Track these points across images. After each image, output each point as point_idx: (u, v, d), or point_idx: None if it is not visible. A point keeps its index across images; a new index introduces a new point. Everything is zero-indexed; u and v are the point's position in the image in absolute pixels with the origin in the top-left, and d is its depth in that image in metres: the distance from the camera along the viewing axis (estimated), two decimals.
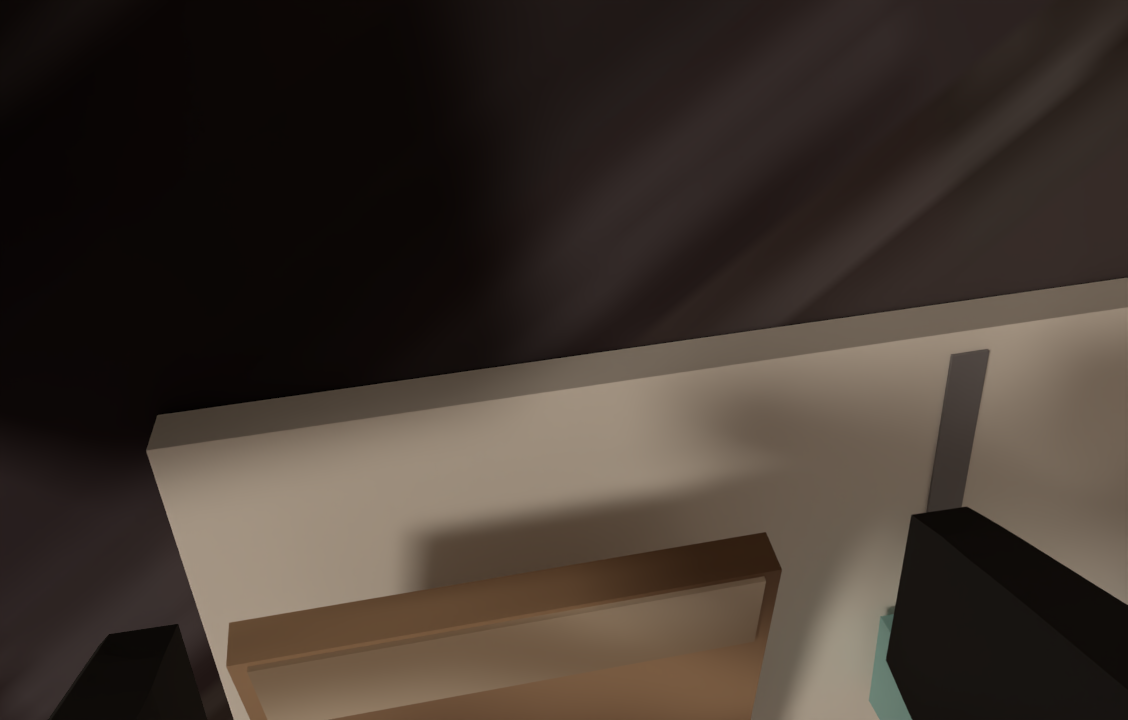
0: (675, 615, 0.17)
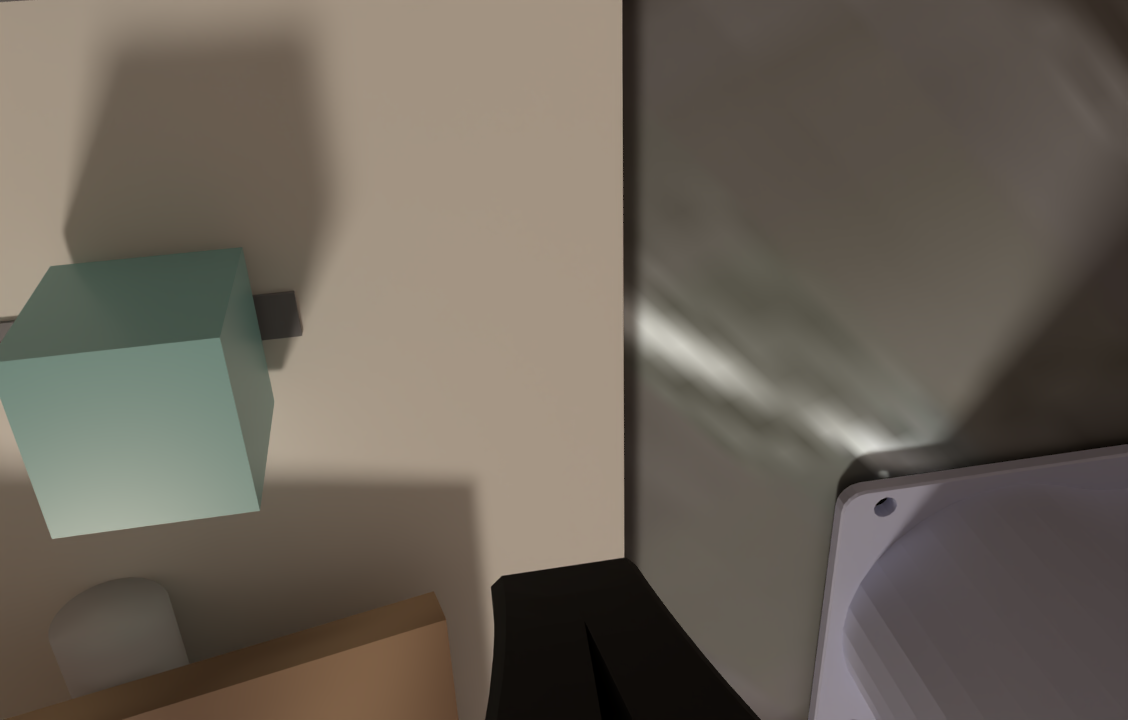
0: None
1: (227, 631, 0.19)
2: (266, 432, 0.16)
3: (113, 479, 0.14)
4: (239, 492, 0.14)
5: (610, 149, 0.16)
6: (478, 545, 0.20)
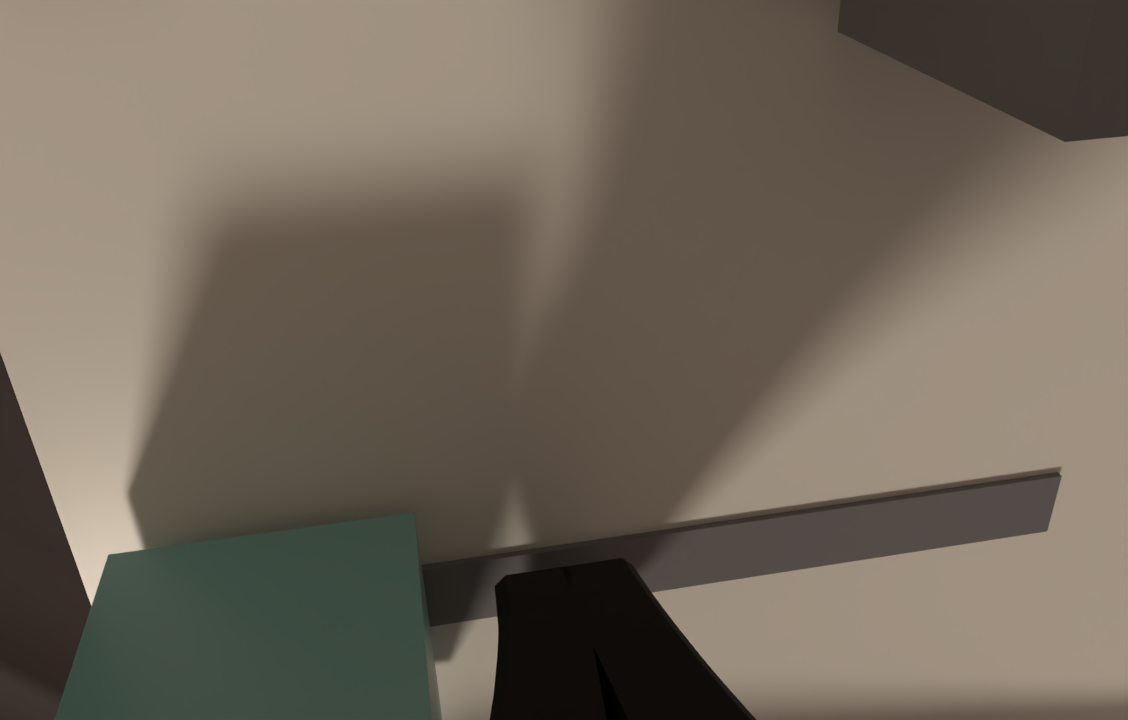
0: None
1: None
2: None
3: None
4: None
5: None
6: None
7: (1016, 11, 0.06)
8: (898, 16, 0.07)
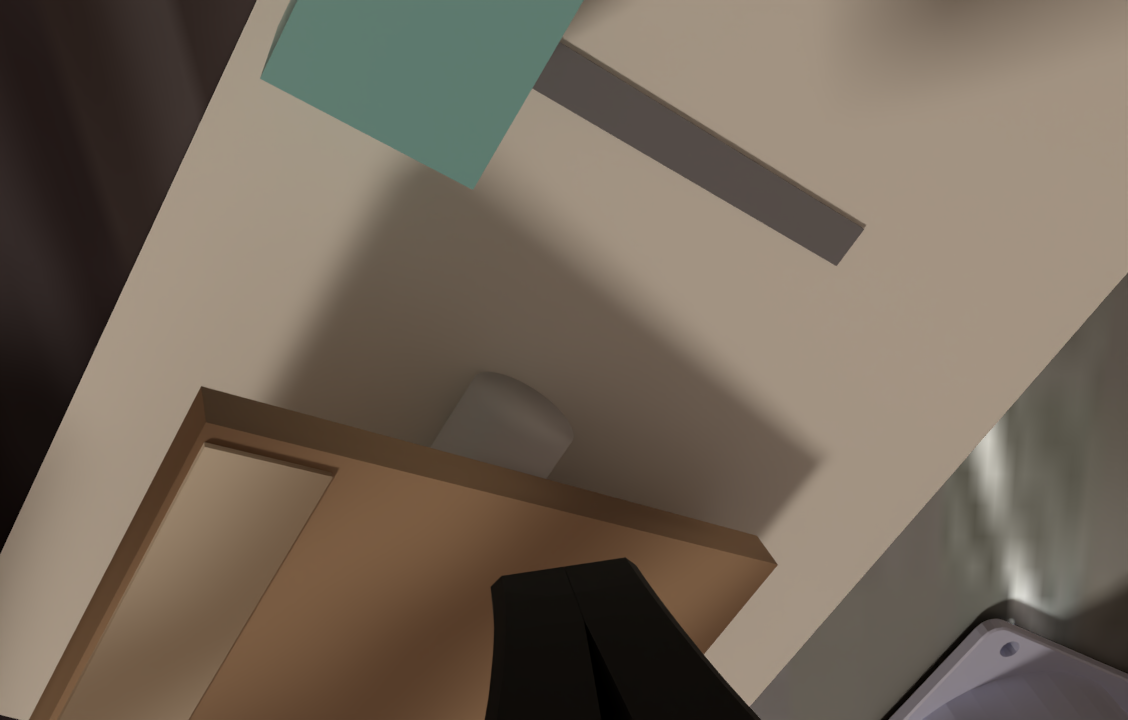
0: (198, 540, 0.14)
1: None
2: None
3: (374, 58, 0.12)
4: (472, 156, 0.12)
5: (1121, 267, 0.19)
6: (776, 516, 0.21)
7: None
8: None
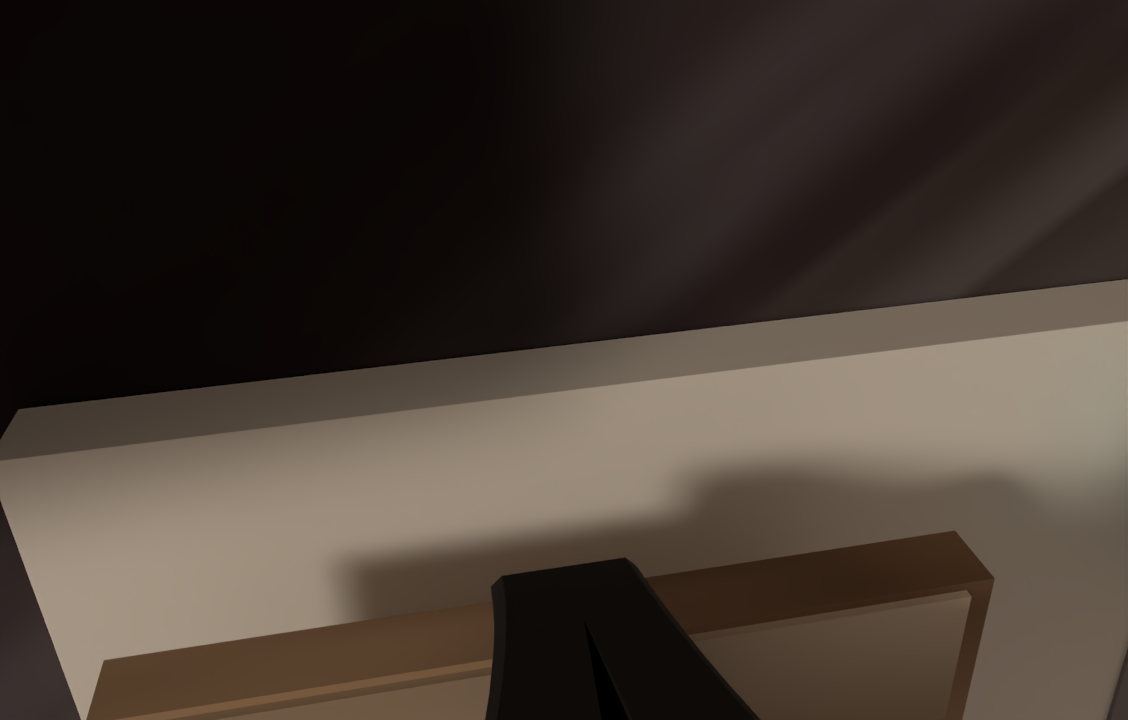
0: (827, 657, 0.10)
1: None
2: None
3: None
4: None
5: None
6: None
7: None
8: None
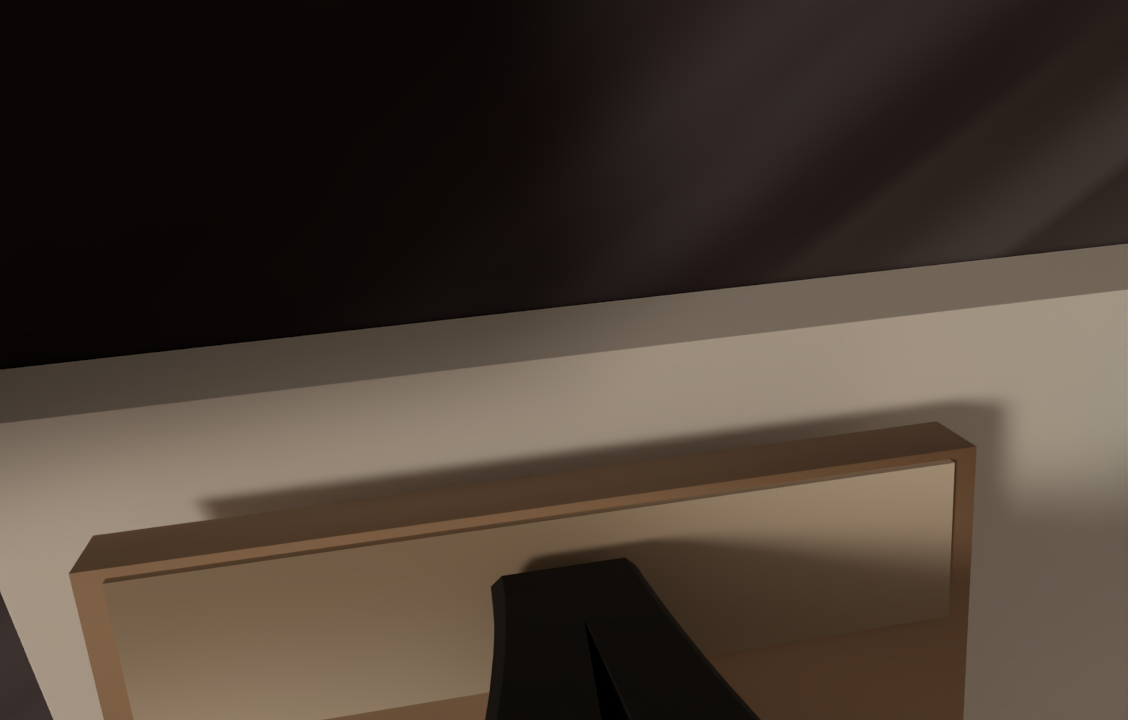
0: (815, 530, 0.10)
1: None
2: None
3: None
4: None
5: None
6: None
7: None
8: None
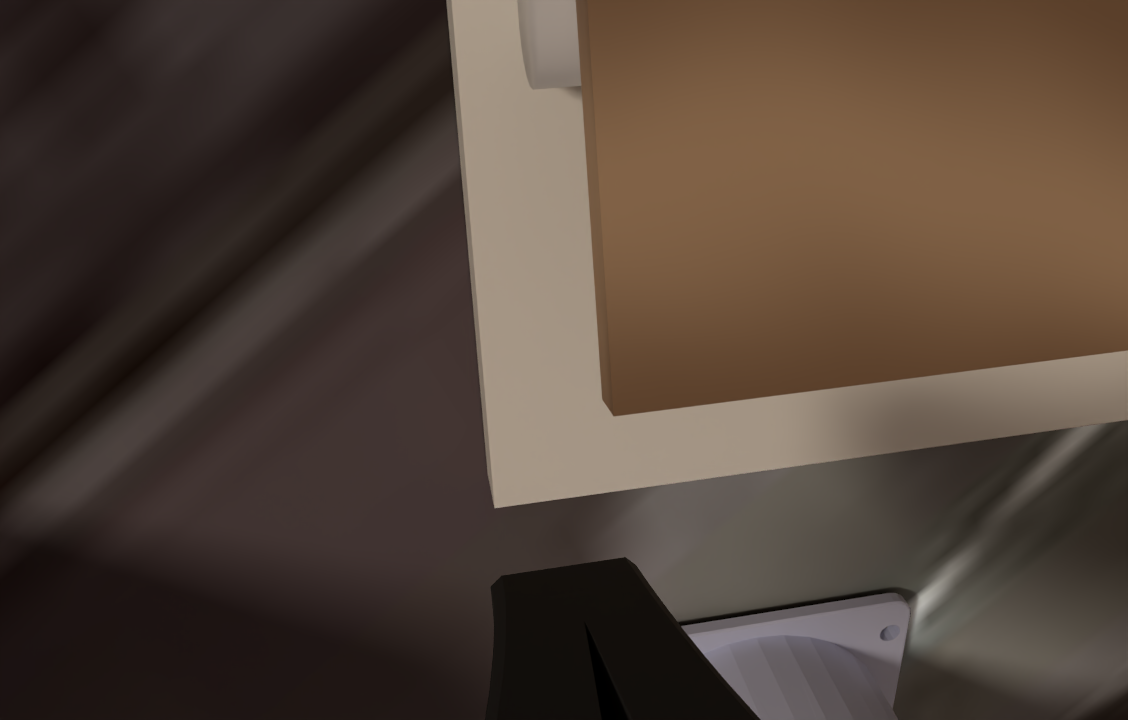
0: None
1: None
2: None
3: None
4: None
5: None
6: None
7: None
8: None
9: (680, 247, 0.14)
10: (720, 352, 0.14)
